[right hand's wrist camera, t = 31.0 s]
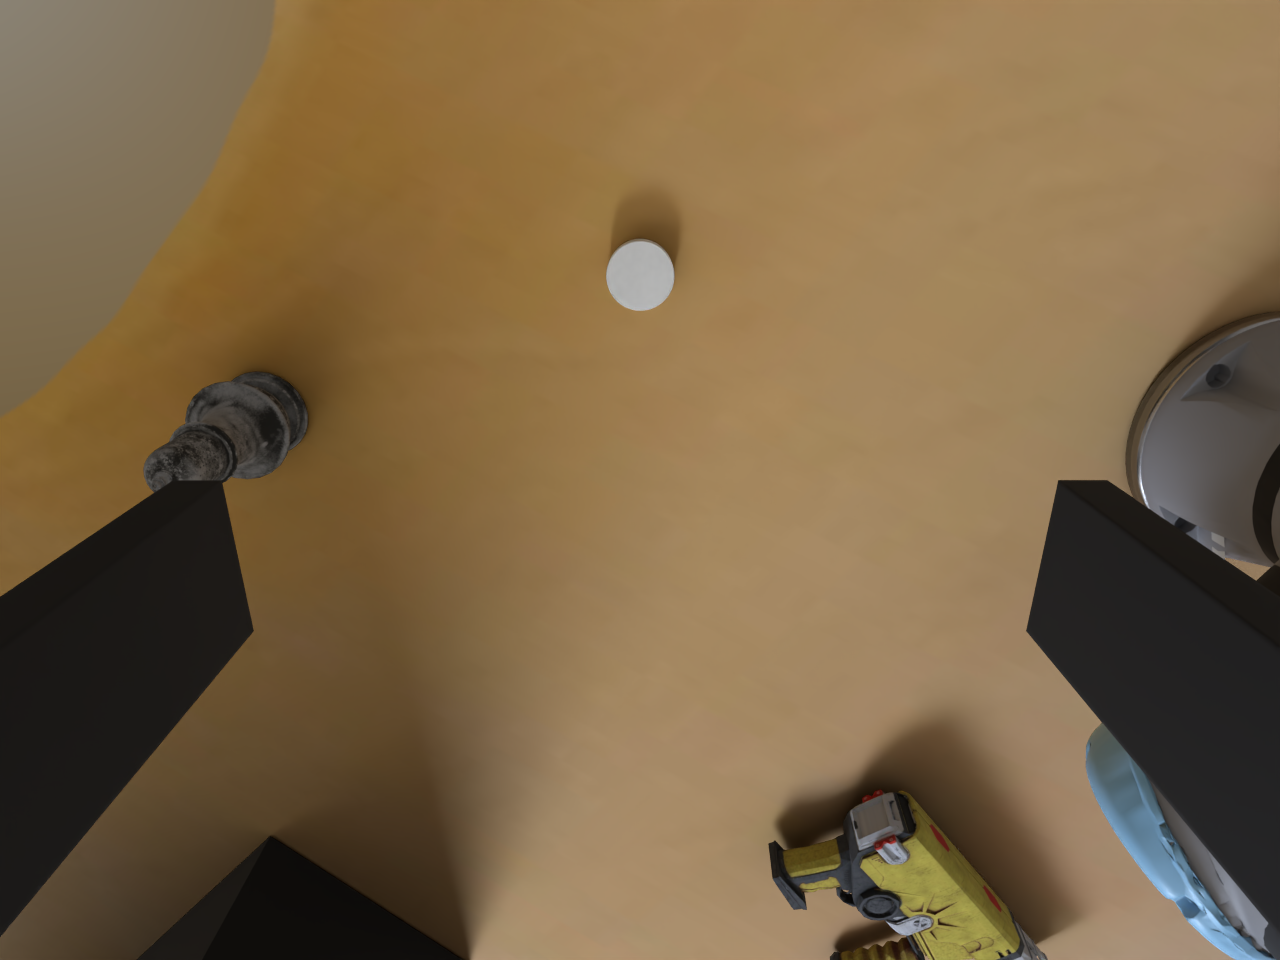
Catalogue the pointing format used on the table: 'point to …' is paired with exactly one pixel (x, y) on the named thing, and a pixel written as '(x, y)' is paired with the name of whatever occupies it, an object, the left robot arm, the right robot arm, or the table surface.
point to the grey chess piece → (232, 432)
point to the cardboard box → (289, 918)
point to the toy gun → (905, 886)
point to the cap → (640, 274)
